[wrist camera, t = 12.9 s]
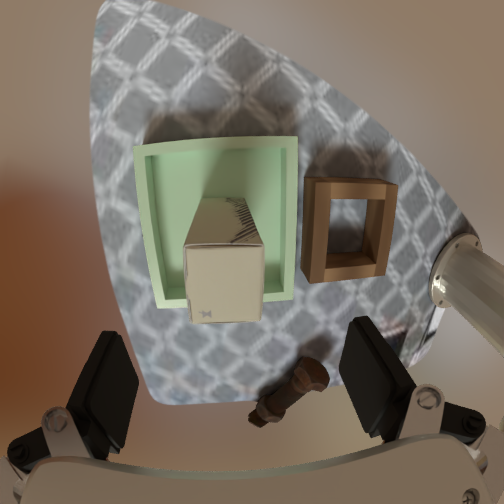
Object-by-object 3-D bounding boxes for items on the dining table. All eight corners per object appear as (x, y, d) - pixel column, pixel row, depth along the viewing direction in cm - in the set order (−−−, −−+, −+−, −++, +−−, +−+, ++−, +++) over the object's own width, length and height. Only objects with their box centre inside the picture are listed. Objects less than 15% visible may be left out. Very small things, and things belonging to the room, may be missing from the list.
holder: (380, 179, 27) (398, 185, 24) (370, 261, 31) (384, 275, 28) (303, 176, 26) (315, 182, 23) (300, 268, 30) (309, 283, 27)
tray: (289, 136, 24) (297, 136, 22) (286, 285, 31) (292, 299, 28) (142, 145, 23) (132, 146, 20) (162, 293, 29) (157, 308, 27)
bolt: (249, 402, 42) (306, 349, 37) (271, 418, 41) (331, 369, 36) (236, 422, 36) (298, 370, 32) (261, 440, 36) (327, 391, 31)
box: (244, 245, 28) (263, 327, 16) (200, 246, 27) (188, 329, 15) (245, 193, 26) (268, 244, 14) (198, 194, 25) (180, 245, 13)
